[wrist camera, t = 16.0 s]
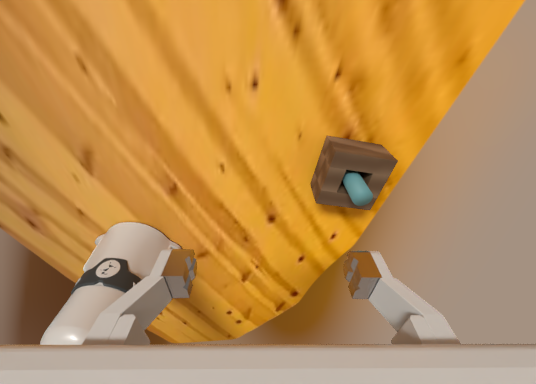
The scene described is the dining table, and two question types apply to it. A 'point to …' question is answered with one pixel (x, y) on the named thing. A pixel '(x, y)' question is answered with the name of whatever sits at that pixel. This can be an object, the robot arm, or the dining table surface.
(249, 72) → the dining table surface
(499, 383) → the robot arm
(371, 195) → the teal peg
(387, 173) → the walnut hole block
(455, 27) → the dining table surface
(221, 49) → the dining table surface
